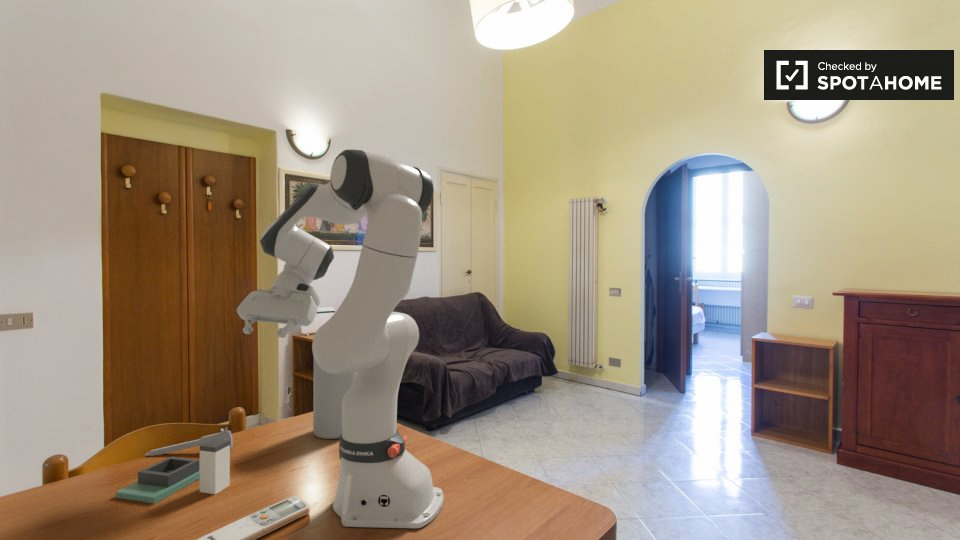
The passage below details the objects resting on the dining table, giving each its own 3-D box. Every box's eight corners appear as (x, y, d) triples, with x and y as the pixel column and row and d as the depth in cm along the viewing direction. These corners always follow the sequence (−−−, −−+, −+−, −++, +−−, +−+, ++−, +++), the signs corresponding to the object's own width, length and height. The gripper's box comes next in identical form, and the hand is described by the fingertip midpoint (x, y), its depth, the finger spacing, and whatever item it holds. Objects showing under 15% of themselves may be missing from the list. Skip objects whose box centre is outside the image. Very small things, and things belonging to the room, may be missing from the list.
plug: (229, 485, 99) (229, 440, 99) (215, 494, 95) (215, 447, 95) (214, 483, 100) (214, 438, 100) (199, 492, 96) (199, 445, 96)
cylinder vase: (314, 426, 135) (314, 343, 135) (357, 422, 139) (357, 342, 138) (311, 442, 123) (312, 351, 123) (358, 437, 127) (359, 349, 126)
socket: (216, 468, 107) (216, 453, 107) (154, 503, 91) (154, 485, 91) (182, 464, 109) (182, 449, 109) (115, 497, 93) (115, 479, 93)
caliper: (232, 449, 118) (232, 426, 118) (231, 451, 117) (231, 427, 117) (146, 455, 114) (146, 431, 114) (143, 457, 113) (143, 433, 113)
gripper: (248, 281, 121) (220, 323, 111) (318, 287, 117) (295, 331, 108) (258, 296, 125) (232, 337, 116) (326, 302, 122) (304, 345, 113)
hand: (263, 334), depth 112 cm, fingers open, 8 cm apart
